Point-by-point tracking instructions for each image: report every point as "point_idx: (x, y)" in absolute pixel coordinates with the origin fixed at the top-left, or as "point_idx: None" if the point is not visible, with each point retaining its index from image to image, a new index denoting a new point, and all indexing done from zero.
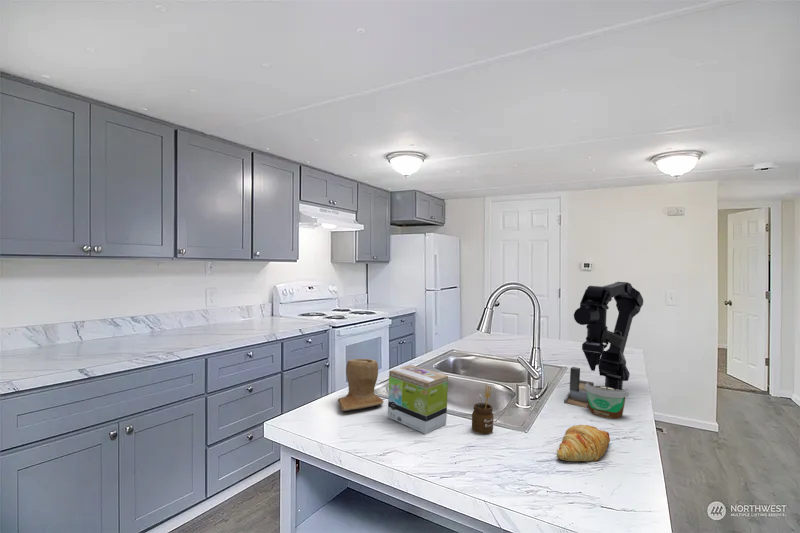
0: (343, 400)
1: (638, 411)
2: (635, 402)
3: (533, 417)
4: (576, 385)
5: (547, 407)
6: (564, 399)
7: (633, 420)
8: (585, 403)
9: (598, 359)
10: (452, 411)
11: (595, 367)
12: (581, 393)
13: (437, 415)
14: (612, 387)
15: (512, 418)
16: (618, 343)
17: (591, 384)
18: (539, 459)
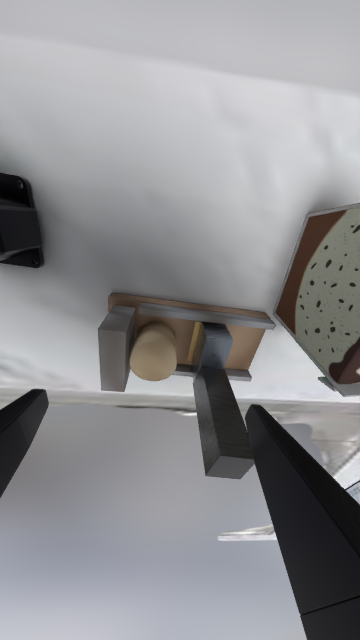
0: None
1: (188, 116)
2: (46, 108)
3: (328, 405)
4: (229, 389)
5: (260, 392)
6: (249, 380)
7: (311, 165)
8: (227, 327)
9: (4, 438)
10: None
11: (281, 427)
12: (227, 355)
13: None
14: (15, 231)
15: (338, 427)
16: None
17: (126, 335)
18: None
